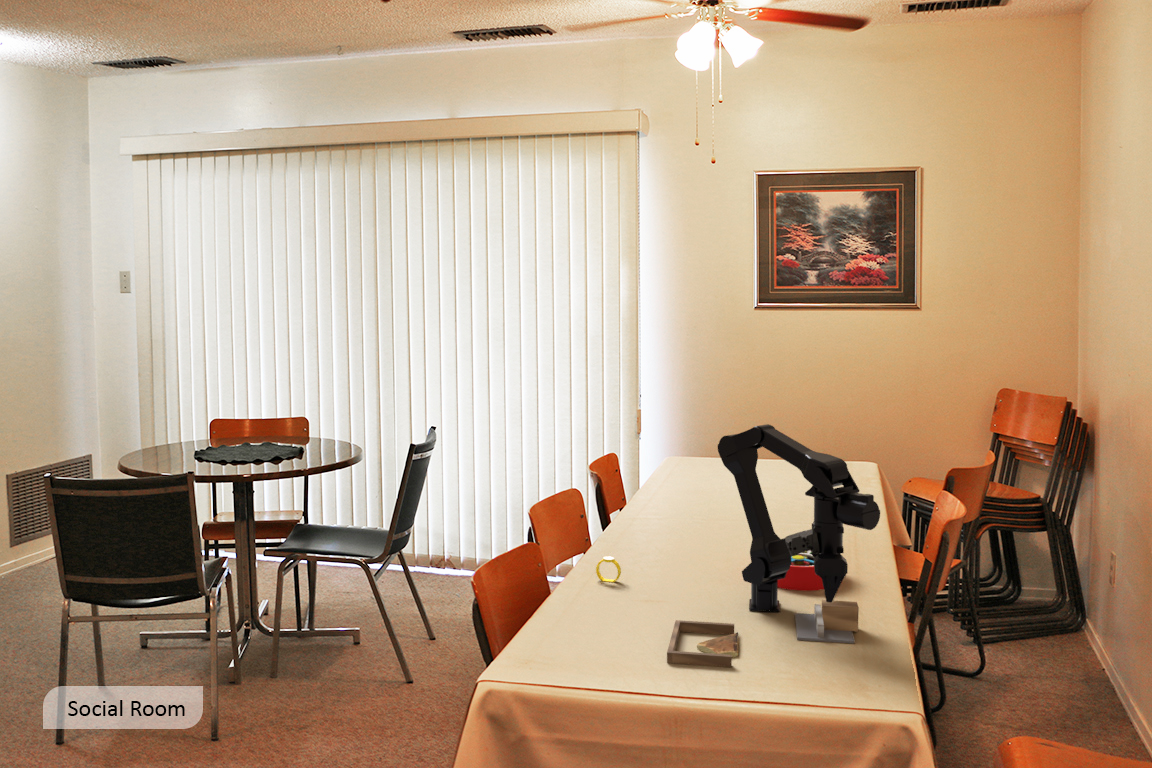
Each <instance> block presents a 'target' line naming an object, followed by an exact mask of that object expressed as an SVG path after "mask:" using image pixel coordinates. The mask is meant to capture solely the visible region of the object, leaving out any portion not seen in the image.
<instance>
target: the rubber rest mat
mask: <svg viewBox="0 0 1152 768" xmlns="http://www.w3.org/2000/svg"><path fill="white" fill-rule="evenodd" d="M794 616H795V617H794V618H795V629H796V638H797V641H810V642H824V643H840V644H841V643H844V644H855V642H856V641H855V637H854V634H853V631H842V630H825V629H824V637H818V636H817V629H816V623H815V616H814V613H806V612H805V613H801V612H795V613H794Z"/></svg>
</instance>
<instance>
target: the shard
mask: <svg viewBox="0 0 1152 768" xmlns="http://www.w3.org/2000/svg"><path fill="white" fill-rule="evenodd" d="M696 649H697V650H698V651H701V653H712V654H727V655H732V658H733V657H734V658H737V657H738V655H739V632H738V631H737V632H734V634H730V635H723V636H719V637H715V638H711V639H708V640H704V641H701V642H699V643H697V645H696Z"/></svg>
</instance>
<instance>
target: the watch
mask: <svg viewBox="0 0 1152 768" xmlns="http://www.w3.org/2000/svg"><path fill="white" fill-rule="evenodd" d="M603 562H604V563H612V564H614V566H615V567H616V569H617V575H616V578H615V579H609V578H605V577H604V576H603V575H601V571H600V566H601V564H602V563H603ZM595 573H596V575H597V577H598V579H599V580H600V582H604V583H605V582H606V583H615V582H617V581H618V580H619V579H620V577H621V574H622V567H621V565H620V564H619V562H618V561H617V560H616V559H615V557H613V556H611V555H610V556H603V557H602V559H601V560H599V561H598V563H597V565H596V566H595Z"/></svg>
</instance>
